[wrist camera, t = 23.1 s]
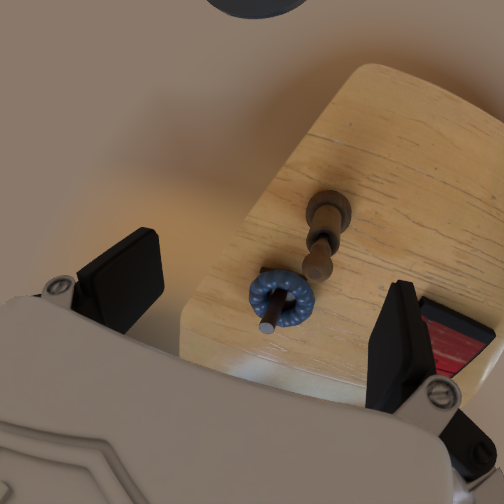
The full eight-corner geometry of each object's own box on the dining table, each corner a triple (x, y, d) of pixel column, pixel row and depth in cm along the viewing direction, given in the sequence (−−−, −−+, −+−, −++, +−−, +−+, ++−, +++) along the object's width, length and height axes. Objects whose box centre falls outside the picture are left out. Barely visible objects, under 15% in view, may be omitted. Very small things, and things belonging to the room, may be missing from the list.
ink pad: (425, 302, 40) (497, 336, 37) (423, 294, 42) (494, 328, 39) (376, 359, 49) (448, 383, 46) (376, 350, 51) (447, 375, 48)
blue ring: (255, 259, 48) (249, 268, 45) (321, 275, 45) (319, 285, 43) (250, 310, 53) (244, 320, 51) (308, 325, 51) (305, 336, 48)
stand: (261, 266, 49) (241, 301, 41) (307, 276, 48) (296, 314, 39) (258, 302, 53) (240, 339, 45) (300, 312, 51) (288, 352, 43)
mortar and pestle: (317, 237, 44) (297, 309, 29) (300, 199, 42) (269, 255, 27) (357, 222, 41) (359, 292, 26) (340, 183, 39) (335, 232, 24)
